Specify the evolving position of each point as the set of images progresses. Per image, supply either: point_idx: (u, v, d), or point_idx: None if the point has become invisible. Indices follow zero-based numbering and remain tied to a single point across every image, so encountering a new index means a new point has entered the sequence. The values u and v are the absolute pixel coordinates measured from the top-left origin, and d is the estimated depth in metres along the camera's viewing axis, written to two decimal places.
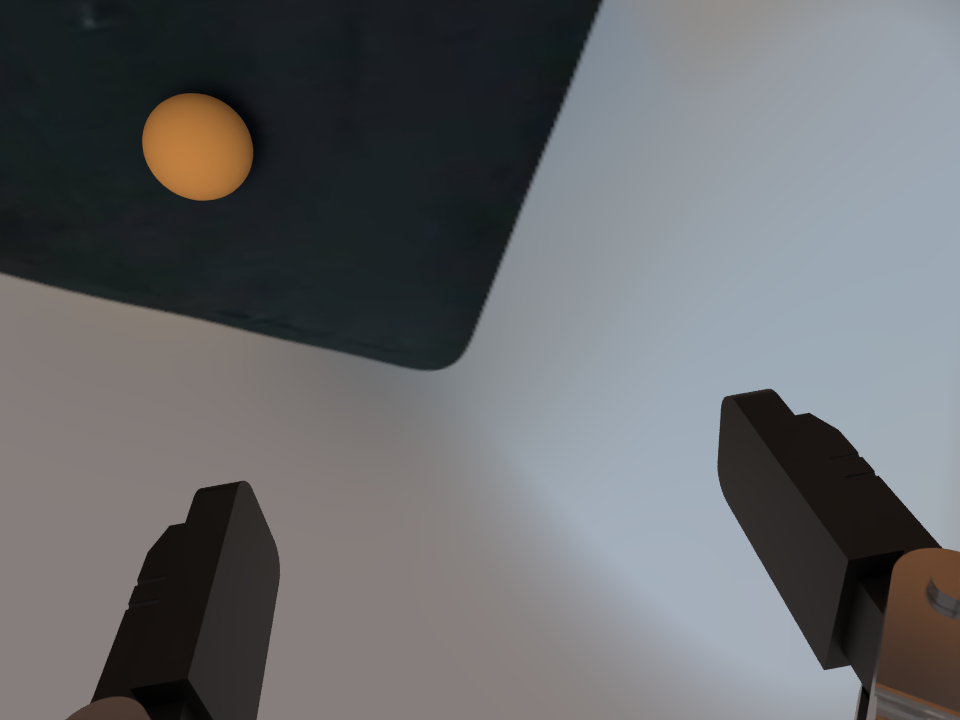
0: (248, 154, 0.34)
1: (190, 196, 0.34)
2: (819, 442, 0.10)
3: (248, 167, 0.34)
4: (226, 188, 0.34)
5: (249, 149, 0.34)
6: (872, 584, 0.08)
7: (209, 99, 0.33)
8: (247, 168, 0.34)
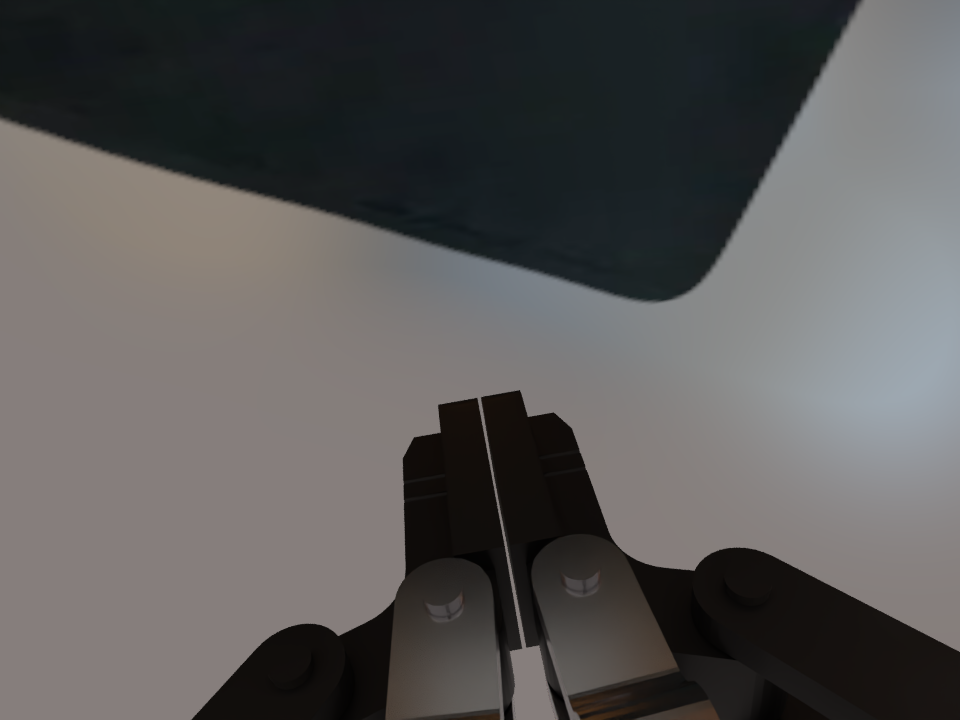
0: None
1: None
2: (549, 439, 0.11)
3: None
4: None
5: None
6: None
7: None
8: None
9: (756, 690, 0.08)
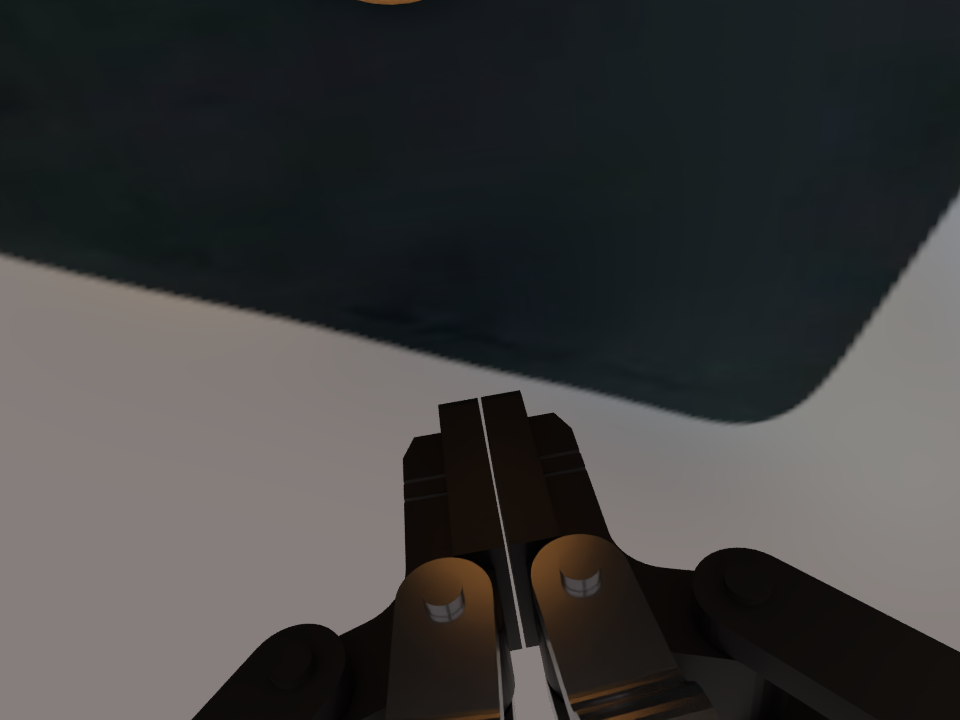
0: None
1: None
2: (549, 439, 0.11)
3: None
4: None
5: None
6: None
7: None
8: None
9: (756, 690, 0.08)
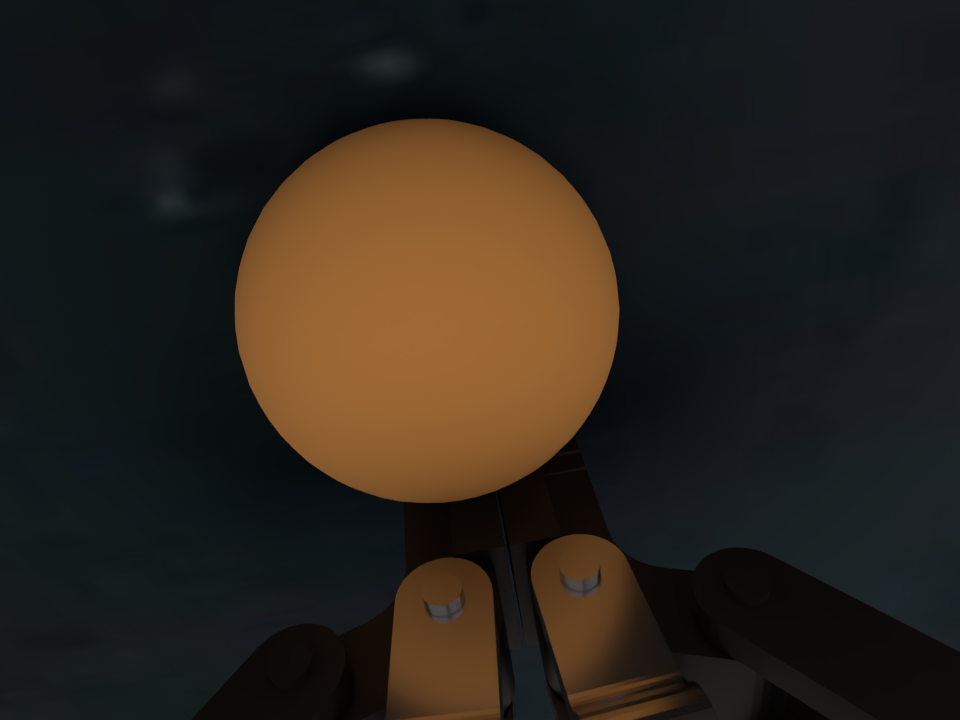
0: (610, 260, 0.09)
1: (343, 290, 0.07)
2: None
3: (607, 301, 0.08)
4: (514, 270, 0.07)
5: None
6: None
7: None
8: (604, 294, 0.08)
9: (756, 690, 0.08)
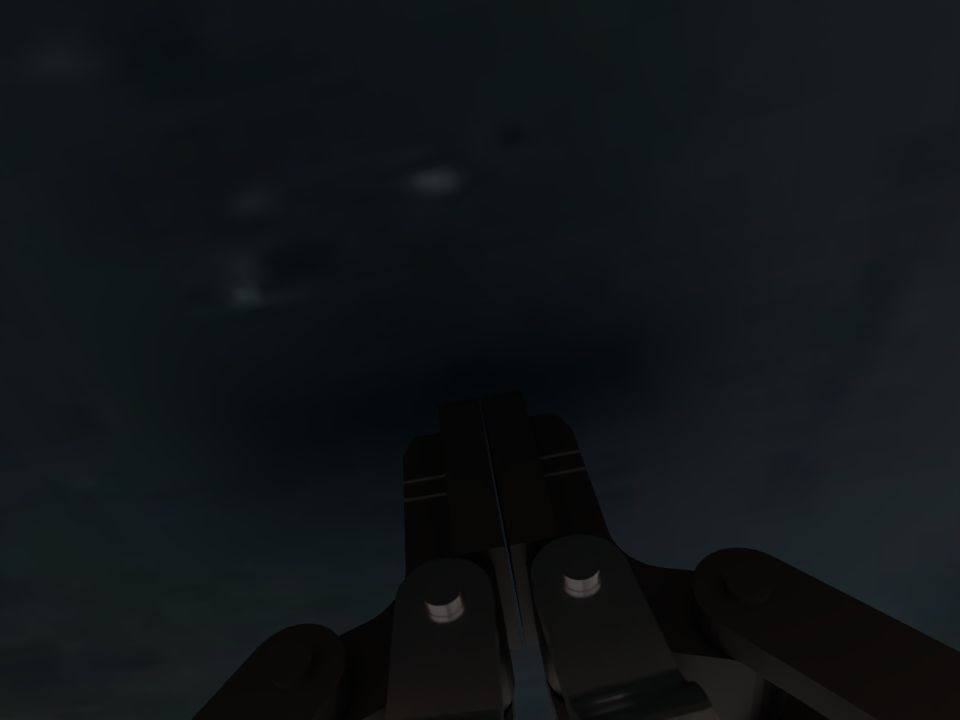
0: None
1: None
2: (549, 439, 0.11)
3: None
4: None
5: None
6: None
7: None
8: None
9: (756, 690, 0.08)
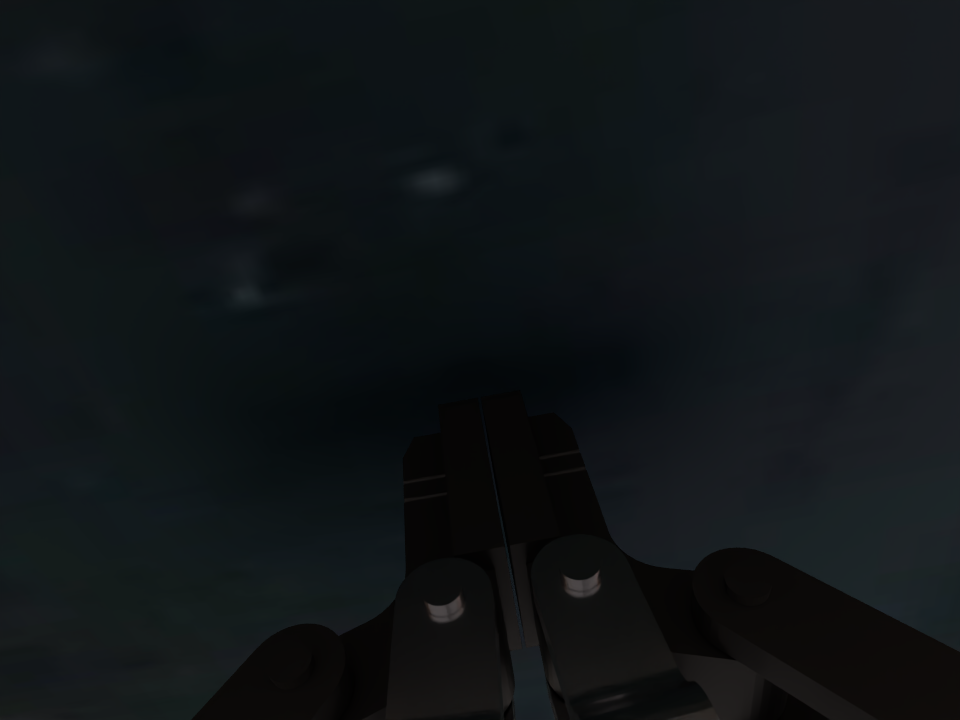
0: None
1: None
2: (549, 439, 0.11)
3: None
4: None
5: None
6: None
7: None
8: None
9: (756, 690, 0.08)
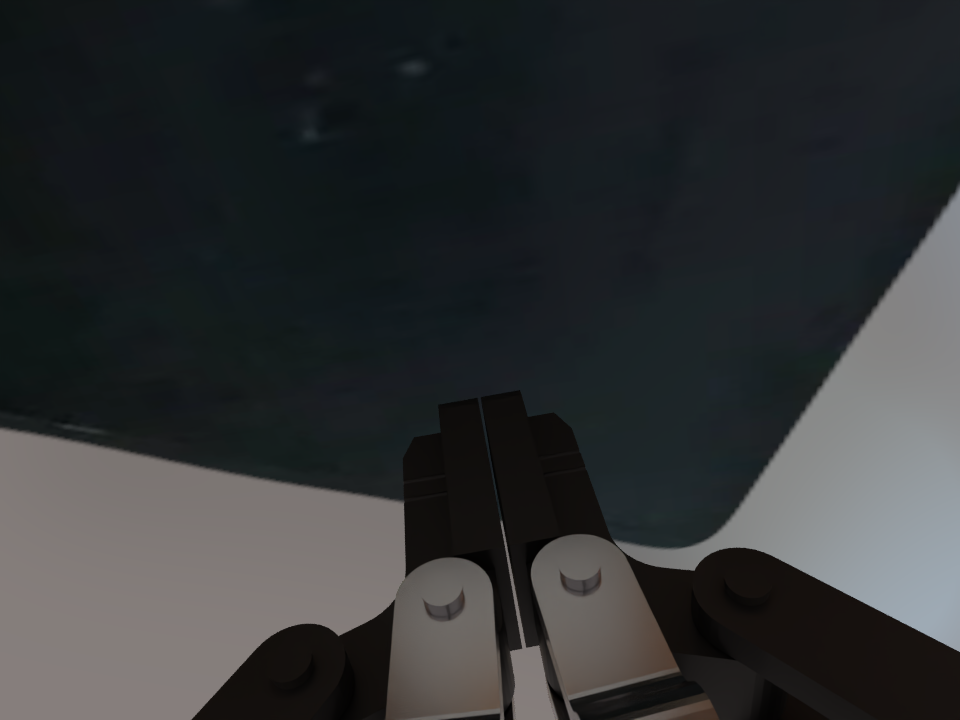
0: None
1: None
2: (549, 439, 0.11)
3: None
4: None
5: None
6: None
7: None
8: None
9: (756, 689, 0.08)
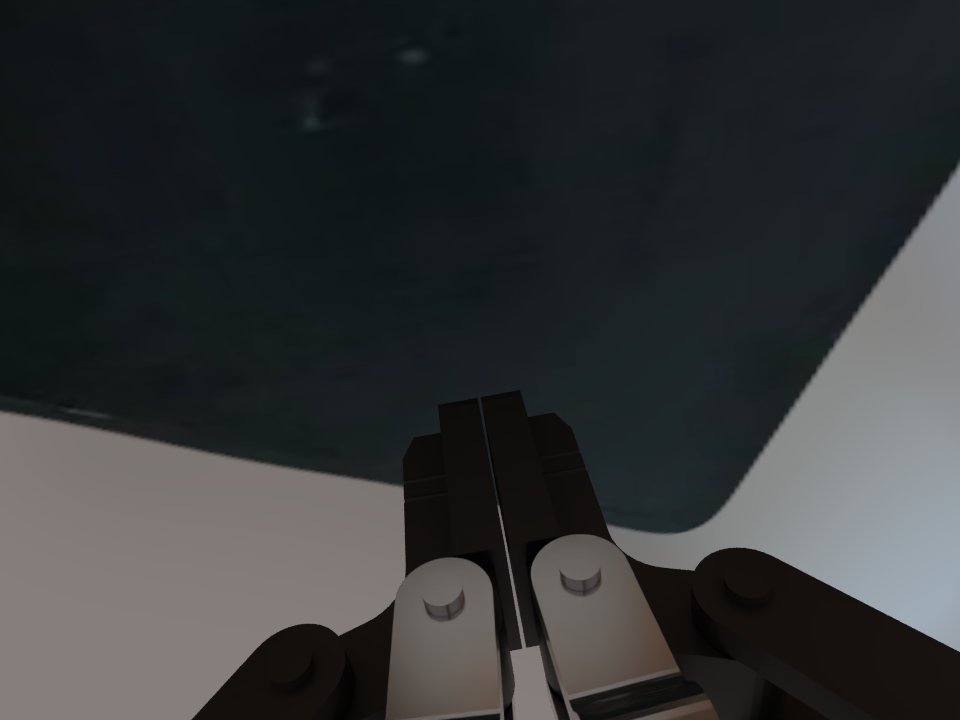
0: None
1: None
2: (549, 439, 0.11)
3: None
4: None
5: None
6: None
7: None
8: None
9: (755, 690, 0.08)
